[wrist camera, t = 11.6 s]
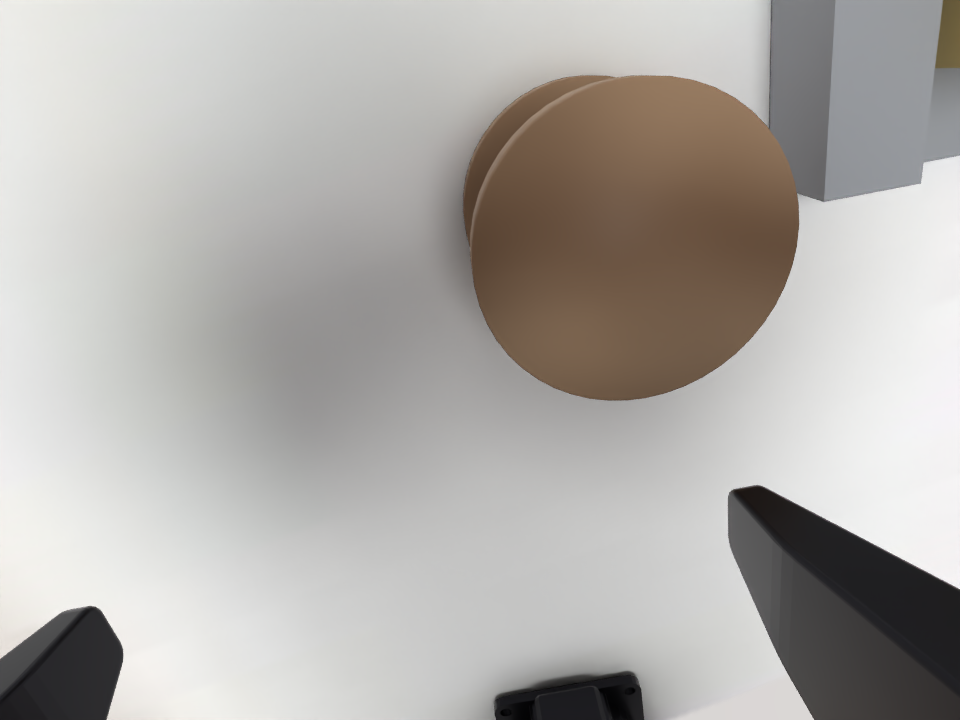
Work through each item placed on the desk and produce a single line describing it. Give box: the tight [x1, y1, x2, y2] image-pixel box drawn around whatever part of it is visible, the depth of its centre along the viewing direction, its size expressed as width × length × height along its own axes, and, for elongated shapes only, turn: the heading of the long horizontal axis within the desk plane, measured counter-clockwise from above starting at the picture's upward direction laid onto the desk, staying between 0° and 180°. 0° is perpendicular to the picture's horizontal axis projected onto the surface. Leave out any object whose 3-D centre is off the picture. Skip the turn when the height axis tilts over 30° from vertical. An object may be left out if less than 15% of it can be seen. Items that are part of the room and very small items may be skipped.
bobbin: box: [463, 76, 799, 400], centre depth 16 cm, size 7×7×6 cm
